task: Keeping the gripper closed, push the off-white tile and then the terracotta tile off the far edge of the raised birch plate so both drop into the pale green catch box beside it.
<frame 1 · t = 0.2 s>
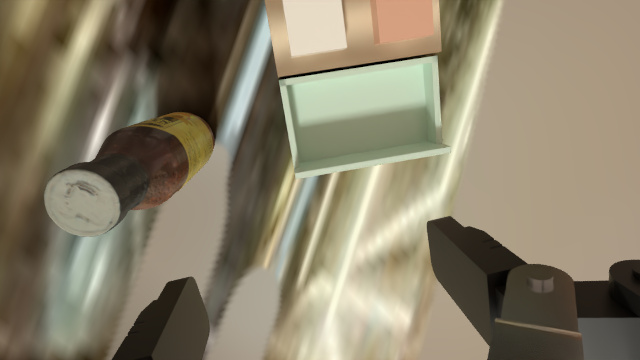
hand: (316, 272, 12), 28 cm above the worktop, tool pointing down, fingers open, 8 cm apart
white tile: (313, 25, 33), point 4 cm above the worktop, touching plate
sauce bottle: (186, 140, 38), on the worktop
terracotta tile: (397, 12, 33), point 4 cm above the worktop, touching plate
catch box: (358, 113, 39), on the worktop
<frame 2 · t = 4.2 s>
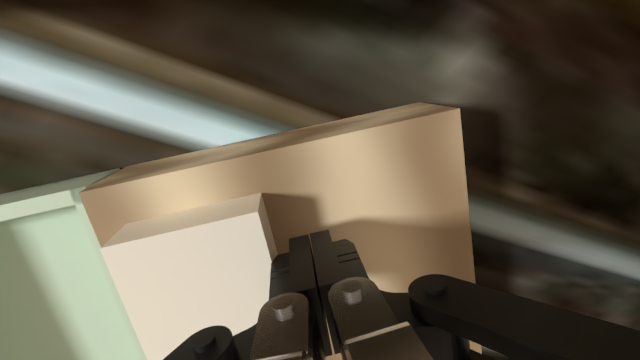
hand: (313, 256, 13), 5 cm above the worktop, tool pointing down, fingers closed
white tile: (214, 267, 14), point 4 cm above the worktop, touching gripper, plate
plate: (311, 280, 19), on the worktop
catch box: (82, 334, 18), on the worktop
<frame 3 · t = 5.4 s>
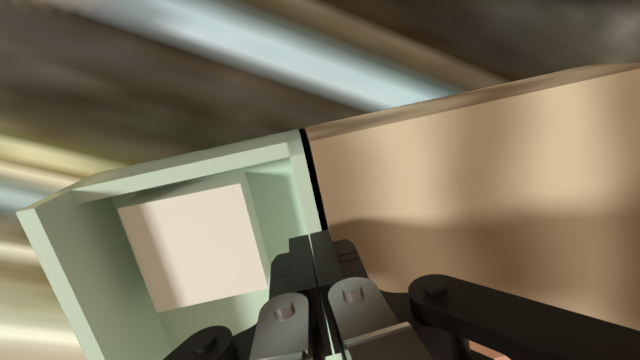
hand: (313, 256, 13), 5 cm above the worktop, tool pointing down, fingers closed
white tile: (196, 250, 15), point 3 cm above the worktop, tilted 180°, touching catch box
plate: (462, 244, 19), on the worktop
catch box: (242, 296, 19), on the worktop
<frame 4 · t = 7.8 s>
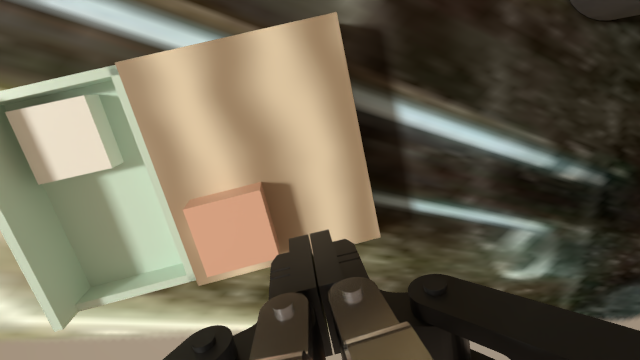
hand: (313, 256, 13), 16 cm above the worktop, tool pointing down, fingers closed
white tile: (60, 141, 24), point 3 cm above the worktop, tilted 180°, touching catch box
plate: (263, 149, 28), on the worktop
terracotta tile: (236, 223, 25), point 4 cm above the worktop, touching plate
catch box: (110, 187, 27), on the worktop
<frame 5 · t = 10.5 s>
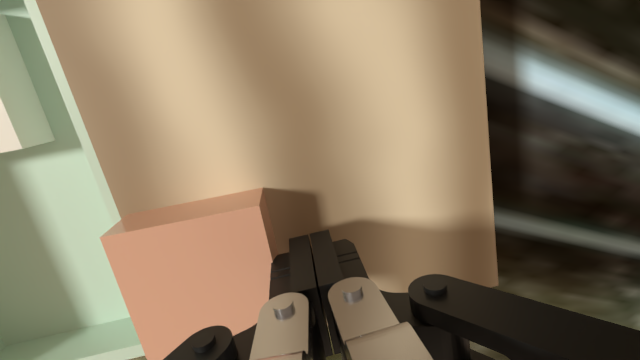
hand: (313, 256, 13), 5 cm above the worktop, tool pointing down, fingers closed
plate: (296, 127, 17), on the worktop
terracotta tile: (213, 260, 14), point 4 cm above the worktop, touching gripper, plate
catch box: (36, 183, 16), on the worktop
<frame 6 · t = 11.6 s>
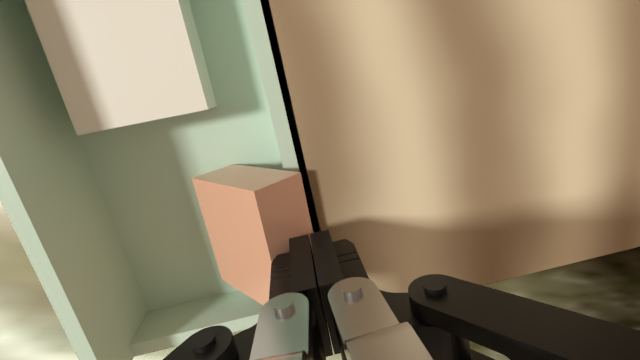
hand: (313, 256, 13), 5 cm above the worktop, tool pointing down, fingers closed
white tile: (120, 54, 13), point 3 cm above the worktop, tilted 180°, touching catch box
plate: (437, 95, 17), on the worktop
terracotta tile: (275, 223, 15), point 3 cm above the worktop, tilted 53°, touching catch box, gripper
catch box: (189, 150, 17), on the worktop
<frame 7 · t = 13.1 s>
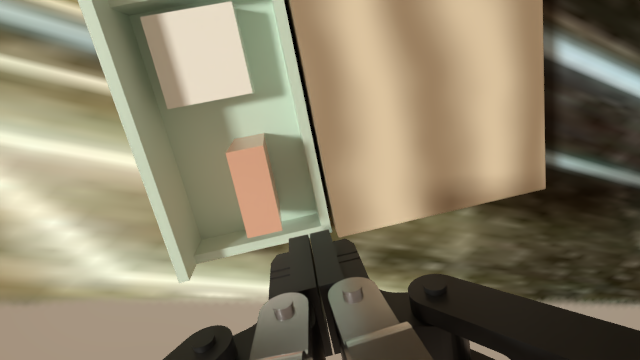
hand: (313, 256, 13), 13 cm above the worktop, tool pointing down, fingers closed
white tile: (198, 56, 20), point 3 cm above the worktop, tilted 180°, touching catch box
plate: (406, 86, 24), on the worktop
terracotta tile: (272, 178, 22), point 3 cm above the worktop, tilted 89°, touching catch box
catch box: (233, 123, 24), on the worktop
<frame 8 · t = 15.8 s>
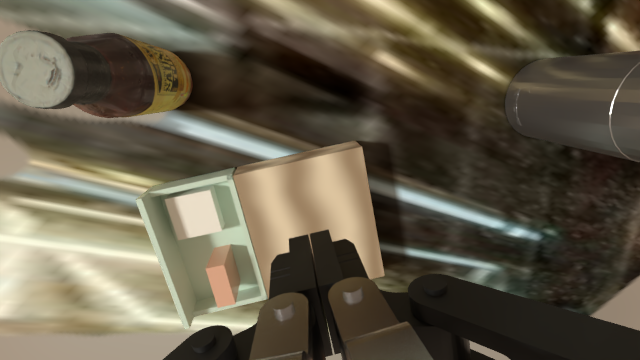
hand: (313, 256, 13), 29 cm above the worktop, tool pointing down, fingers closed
white tile: (193, 215, 39), point 3 cm above the worktop, tilted 180°, touching catch box
sauce bottle: (164, 79, 38), on the worktop
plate: (310, 215, 44), on the worktop
terracotta tile: (232, 272, 41), point 3 cm above the worktop, tilted 90°, touching catch box
catch box: (214, 238, 43), on the worktop
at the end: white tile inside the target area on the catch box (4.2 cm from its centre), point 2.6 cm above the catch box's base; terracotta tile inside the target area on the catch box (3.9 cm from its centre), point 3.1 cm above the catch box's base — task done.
